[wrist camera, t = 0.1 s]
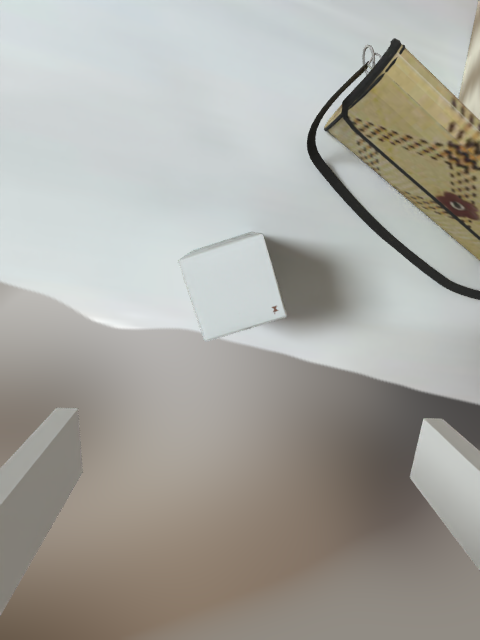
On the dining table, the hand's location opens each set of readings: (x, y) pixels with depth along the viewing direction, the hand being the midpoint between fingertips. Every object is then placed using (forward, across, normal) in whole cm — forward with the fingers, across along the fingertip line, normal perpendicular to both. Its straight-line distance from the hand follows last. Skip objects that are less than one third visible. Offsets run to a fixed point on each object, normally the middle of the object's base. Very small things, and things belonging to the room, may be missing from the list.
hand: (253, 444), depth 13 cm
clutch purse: (+28, +19, +11) cm, 36 cm away
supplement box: (+28, 0, +3) cm, 28 cm away
